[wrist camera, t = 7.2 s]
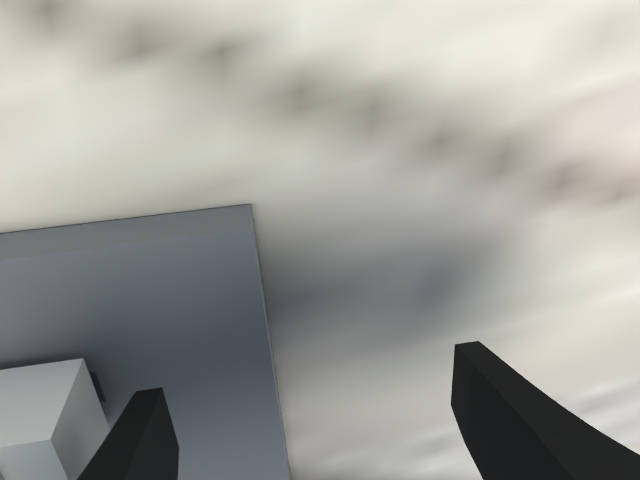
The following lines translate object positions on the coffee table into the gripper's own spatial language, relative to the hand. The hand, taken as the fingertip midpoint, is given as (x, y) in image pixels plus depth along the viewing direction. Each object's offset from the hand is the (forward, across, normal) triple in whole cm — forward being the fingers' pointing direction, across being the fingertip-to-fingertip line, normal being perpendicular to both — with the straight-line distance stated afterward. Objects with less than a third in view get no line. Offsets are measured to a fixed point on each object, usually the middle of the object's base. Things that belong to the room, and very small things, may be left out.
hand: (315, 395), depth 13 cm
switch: (+1, +7, 0) cm, 7 cm away
